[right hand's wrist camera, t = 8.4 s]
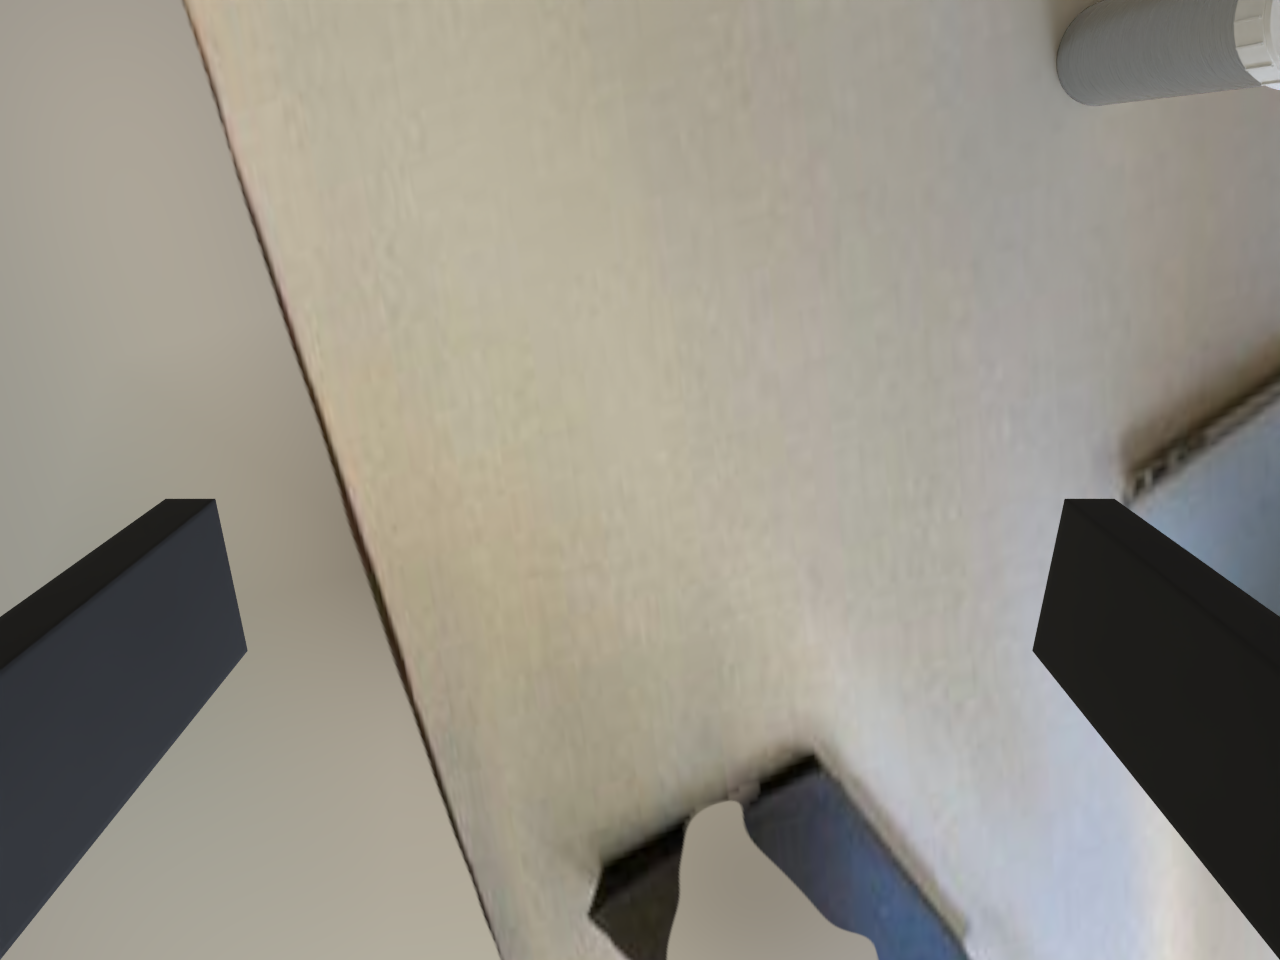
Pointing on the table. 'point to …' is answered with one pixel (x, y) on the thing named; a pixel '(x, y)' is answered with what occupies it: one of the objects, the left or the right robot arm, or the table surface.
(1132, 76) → the grey cylinder
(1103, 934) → the table surface
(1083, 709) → the right robot arm
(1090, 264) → the table surface
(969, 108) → the table surface
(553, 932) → the table surface
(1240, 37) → the lid
